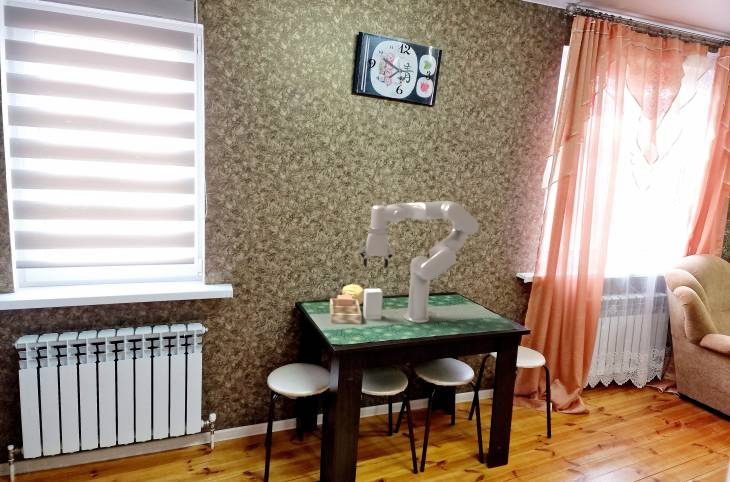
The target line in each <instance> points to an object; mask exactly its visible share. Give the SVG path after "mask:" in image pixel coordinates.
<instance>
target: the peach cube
mask: <svg viewBox="0 0 730 482" xmlns="http://www.w3.org/2000/svg"><path fill="white" fill-rule="evenodd" d="M336 299H337V306H345V307H352V296H351V295H342V294H337V298H336Z"/></svg>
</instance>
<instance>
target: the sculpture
mask: <svg viewBox="0 0 730 482" xmlns="http://www.w3.org/2000/svg"><path fill="white" fill-rule="evenodd" d="M364 289H365V288H363V287H362V286H361V285H359V284H352V283H351V284H349V285H345V286H344V287H342V293H341V295H351V296H352V299H357V300H358V303H359V306H360V305H362V304H364Z"/></svg>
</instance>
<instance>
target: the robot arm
mask: <svg viewBox="0 0 730 482" xmlns="http://www.w3.org/2000/svg"><path fill="white" fill-rule="evenodd" d="M370 214H371V215H370V216H371V217H370V226H369V227H370V229H369V233H368V234H367V238H366V244H365V245H364V246H363V247H360V248H358V252H359V254H360V256H361V257H362V258H363V260H362V261H363V264H362V265H363V266H364V268H367V263H368V257H369V256H373V257H374V256H375V257H376V256H377V257H378V256H379V257H385V258H384V266H383V267H384V268H385V269H387V268H388V266H389V260H390V259H391V258H392V257H393V256H394V254H395V252H396V251H395V249H392V248H391V247H389V246H388V244H389V243H388V242H389V241H388V240H389V239H388V235H387V233H390V229H387V224H388V223H387V222H391V223H397V224H398V223H400V222H402V221H404V219H413V220H418V221H428V220H429V221H430V220H439V219H440V220H441V219H447V220H449V221H450V222H451V223H452V228H451V232H450V233H449V234H448V235H447V236H446V237H445V238H444V239H442V240H440V241H439V242H438V243H436V244H435V245H434V246H433V247H431V249H430V250H429V256H430V257H426V256H424V255H417V256H415V257H414V258H413V259H412V260H411V262H410V266H409V270H410V279H409V280H410V281H409V293H408V294H409V295H408V303H407V312H406V313H404V315H403V318H404V319H405V320H406V321H409V322H412V323H421V324H423V323H427V322H429V321H430V317H434V318H435V317H437V312H433V311H429V310H428V305H429V304H428V303H429V294H430V284H431V282H430V281H431V280H434V279H436V278H437V277H438V276H440V275H442V274H443V273H444V272H446V271H447V270H448V269H450V268H451V267H452V266H453V265H454V264H455V262H456V260H457V259H456V258H457V253H456V252H458V251H459V250H460V249H461V248H462V247H463V246H464V244H465V243H466V240H467V236H472V235H474V234H476V233H477V231H478V230H479V223H478V221H477V219H476V218H475V217H474V216H473V215H472V214H470V213H469V212H468V211H467V210H466V209H465V208H463V206H461V205H460V204H459V203H457V202H453V201H450V200H438V201H437V200H436V201H424V202H405V203H404V202H402V203H392V204H388V205H387V206H386V205H380V204H375V205H373V206H372V207H371V213H370ZM363 251H365V254H364V253H363ZM388 252H390V254H388Z"/></svg>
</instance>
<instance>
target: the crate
mask: <svg viewBox="0 0 730 482" xmlns="http://www.w3.org/2000/svg"><path fill="white" fill-rule="evenodd" d="M329 298H330V297H329ZM329 314H330V323H331V324H334V325H337V324H355V325H356V324H357V325H360V324H362V318H363V313H362V312H361V307H360V305H359V303H358V300H357V299H352V307H345V306H337V298H330V299H329Z"/></svg>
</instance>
